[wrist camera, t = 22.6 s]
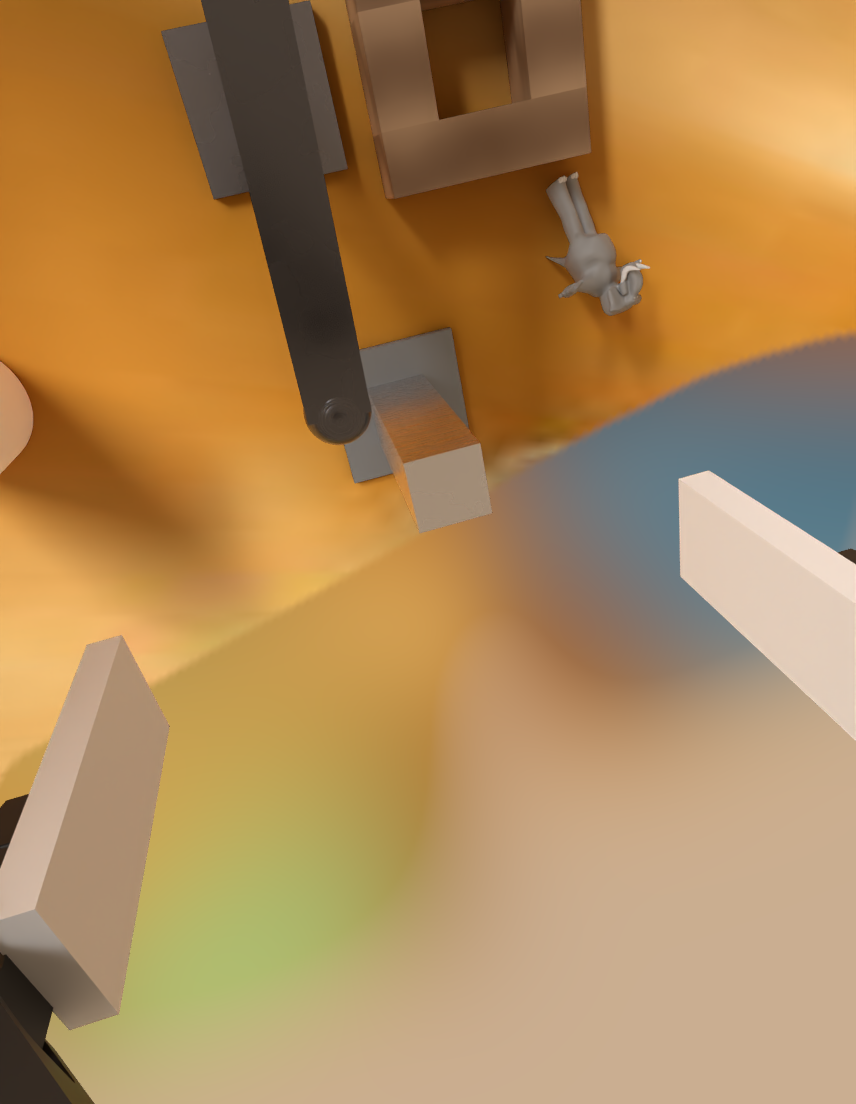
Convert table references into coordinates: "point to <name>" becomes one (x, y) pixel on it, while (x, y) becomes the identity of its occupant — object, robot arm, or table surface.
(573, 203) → the elephant figurine
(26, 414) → the cup
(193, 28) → the handle post
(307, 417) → the dark grey bar
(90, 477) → the table surface
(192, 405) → the table surface
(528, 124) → the eye block
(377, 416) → the peg
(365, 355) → the mat
